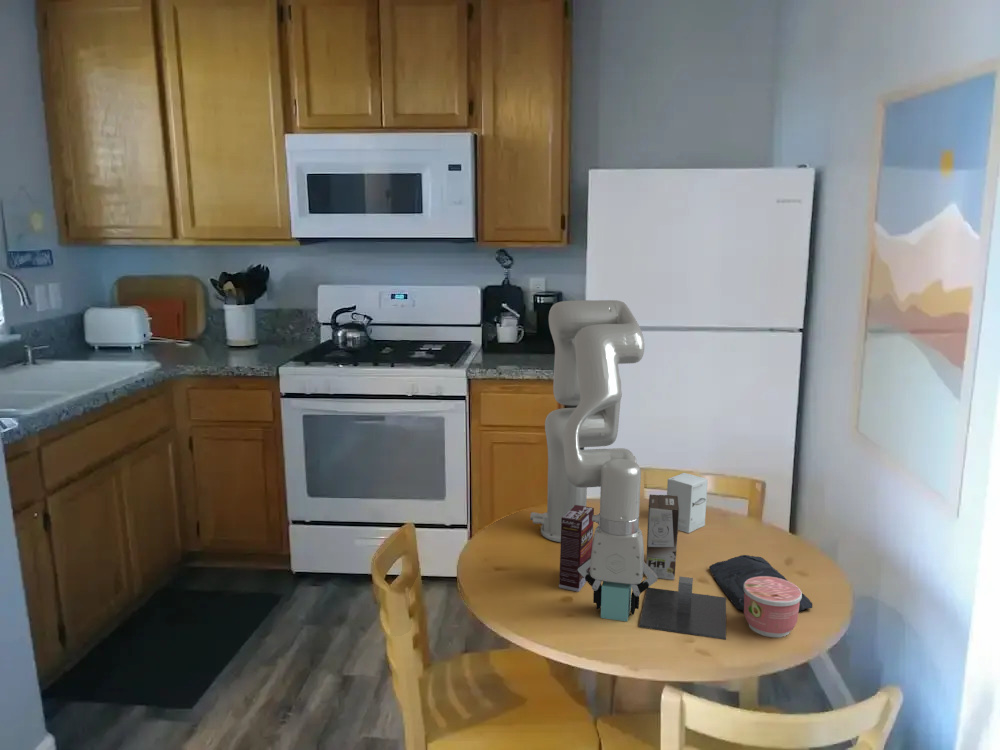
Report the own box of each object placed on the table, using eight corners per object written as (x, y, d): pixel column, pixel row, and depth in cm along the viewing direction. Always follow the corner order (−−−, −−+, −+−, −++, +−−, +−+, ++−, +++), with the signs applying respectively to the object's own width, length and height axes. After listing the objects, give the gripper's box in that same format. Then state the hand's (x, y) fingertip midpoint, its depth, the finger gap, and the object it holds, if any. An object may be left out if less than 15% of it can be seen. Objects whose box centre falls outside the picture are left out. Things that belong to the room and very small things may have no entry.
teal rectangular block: (600, 617, 154) (601, 585, 153) (604, 605, 159) (605, 574, 157) (627, 621, 153) (628, 589, 151) (630, 608, 157) (631, 577, 156)
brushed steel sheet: (639, 627, 151) (640, 593, 149) (647, 589, 166) (648, 558, 164) (725, 639, 146) (728, 604, 145) (725, 599, 161) (728, 567, 160)
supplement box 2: (689, 534, 194) (691, 485, 191) (664, 525, 199) (666, 478, 197) (705, 526, 199) (708, 478, 196) (681, 517, 204) (683, 471, 201)
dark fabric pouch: (770, 565, 177) (771, 545, 176) (817, 614, 156) (819, 592, 155) (704, 567, 176) (705, 547, 175) (742, 617, 154) (744, 594, 153)
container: (735, 612, 156) (737, 575, 155) (788, 613, 156) (792, 576, 154) (748, 640, 146) (751, 601, 144) (806, 642, 145) (809, 603, 144)
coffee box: (675, 580, 170) (679, 510, 166) (645, 577, 171) (648, 507, 167) (675, 562, 178) (678, 495, 175) (646, 559, 180) (649, 492, 176)
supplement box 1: (579, 593, 164) (581, 521, 161) (558, 588, 166) (559, 517, 163) (593, 575, 172) (595, 507, 168) (572, 571, 174) (573, 503, 170)
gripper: (571, 525, 151) (569, 611, 154) (663, 536, 146) (658, 624, 150) (578, 511, 158) (576, 594, 161) (666, 521, 153) (661, 605, 157)
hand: (615, 608), depth 155 cm, fingers open, 6 cm apart
